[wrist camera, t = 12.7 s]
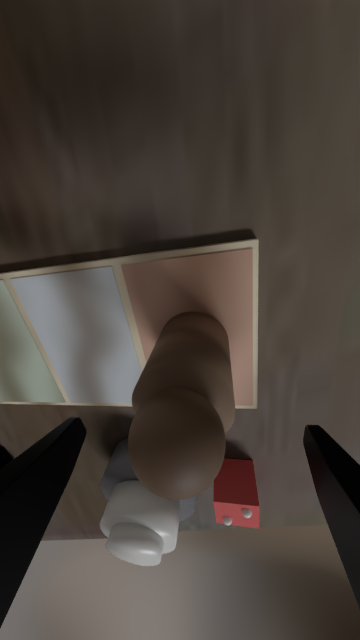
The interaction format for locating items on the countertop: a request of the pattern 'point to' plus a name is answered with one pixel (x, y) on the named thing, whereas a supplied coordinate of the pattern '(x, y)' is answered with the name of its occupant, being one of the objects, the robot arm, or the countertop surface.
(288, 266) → the countertop surface
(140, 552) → the whipped cream
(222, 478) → the red and grey pieces
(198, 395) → the pawn
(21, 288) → the board
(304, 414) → the countertop surface
